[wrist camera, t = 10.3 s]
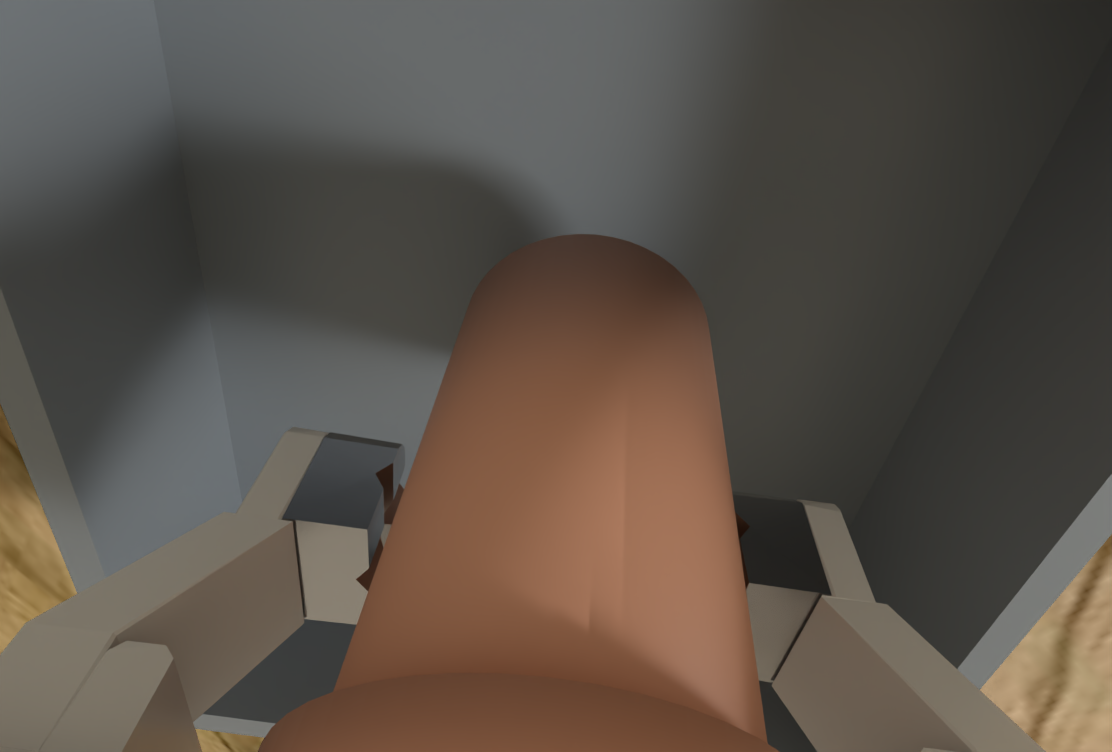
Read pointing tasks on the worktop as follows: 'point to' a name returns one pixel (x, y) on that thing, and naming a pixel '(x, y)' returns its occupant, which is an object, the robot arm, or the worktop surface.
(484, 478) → the butternut squash
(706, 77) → the slate tray
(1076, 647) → the worktop surface
